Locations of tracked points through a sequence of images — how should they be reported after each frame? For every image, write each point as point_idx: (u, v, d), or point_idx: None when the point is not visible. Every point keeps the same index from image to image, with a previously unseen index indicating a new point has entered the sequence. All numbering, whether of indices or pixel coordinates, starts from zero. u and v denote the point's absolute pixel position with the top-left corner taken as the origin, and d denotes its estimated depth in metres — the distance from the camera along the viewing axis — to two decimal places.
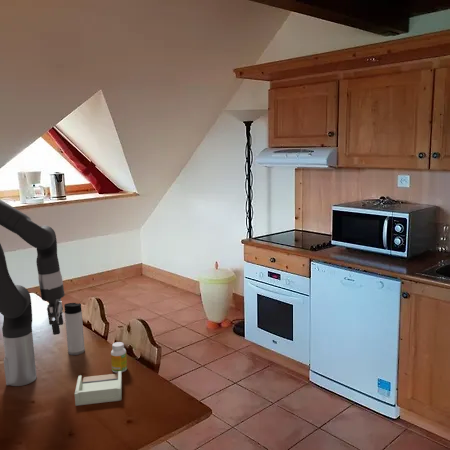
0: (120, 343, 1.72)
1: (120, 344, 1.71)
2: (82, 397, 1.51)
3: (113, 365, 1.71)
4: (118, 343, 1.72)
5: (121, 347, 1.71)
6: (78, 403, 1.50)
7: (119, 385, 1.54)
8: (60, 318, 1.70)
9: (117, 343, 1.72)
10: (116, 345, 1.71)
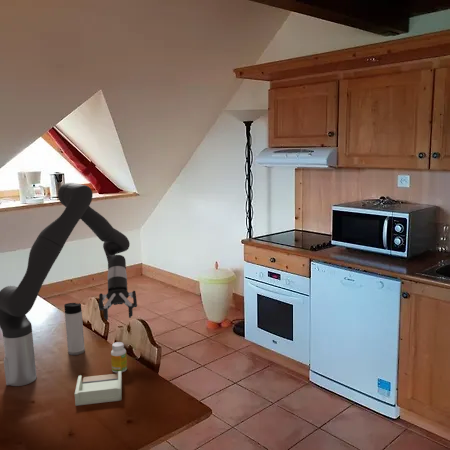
0: (120, 343, 1.72)
1: (120, 344, 1.71)
2: (82, 397, 1.51)
3: (113, 365, 1.71)
4: (118, 343, 1.72)
5: (121, 347, 1.71)
6: (78, 403, 1.50)
7: (119, 385, 1.54)
8: (107, 313, 1.83)
9: (117, 343, 1.72)
10: (116, 345, 1.71)
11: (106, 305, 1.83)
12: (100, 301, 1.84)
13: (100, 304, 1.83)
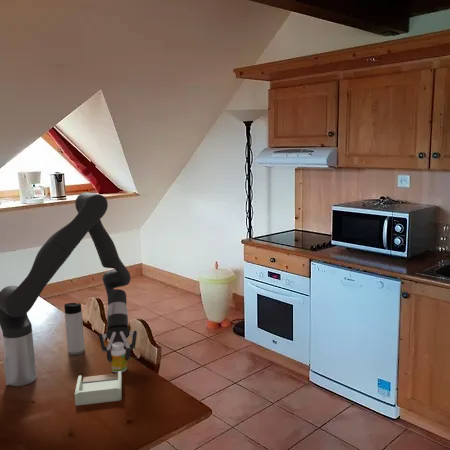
0: (120, 343, 1.72)
1: (120, 344, 1.71)
2: (82, 397, 1.51)
3: (113, 365, 1.71)
4: (118, 343, 1.72)
5: (121, 347, 1.71)
6: (78, 403, 1.50)
7: (119, 385, 1.54)
8: None
9: (117, 343, 1.72)
10: (116, 345, 1.71)
11: (109, 346, 1.72)
12: (101, 342, 1.73)
13: (103, 345, 1.72)
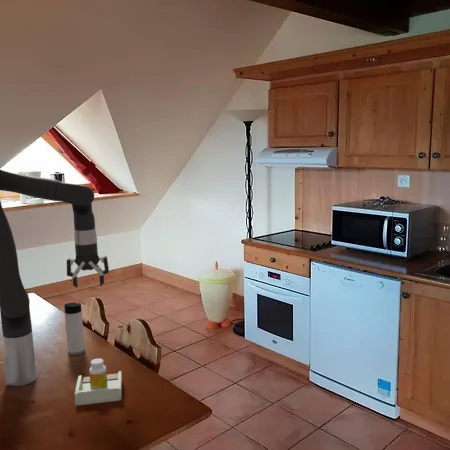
0: (99, 360, 1.57)
1: (99, 361, 1.56)
2: (82, 397, 1.51)
3: (92, 384, 1.55)
4: (97, 360, 1.57)
5: (100, 364, 1.55)
6: (78, 403, 1.50)
7: (119, 385, 1.54)
8: (77, 280, 1.72)
9: (96, 360, 1.57)
10: (95, 362, 1.55)
11: (75, 274, 1.69)
12: (68, 269, 1.69)
13: (68, 272, 1.69)
